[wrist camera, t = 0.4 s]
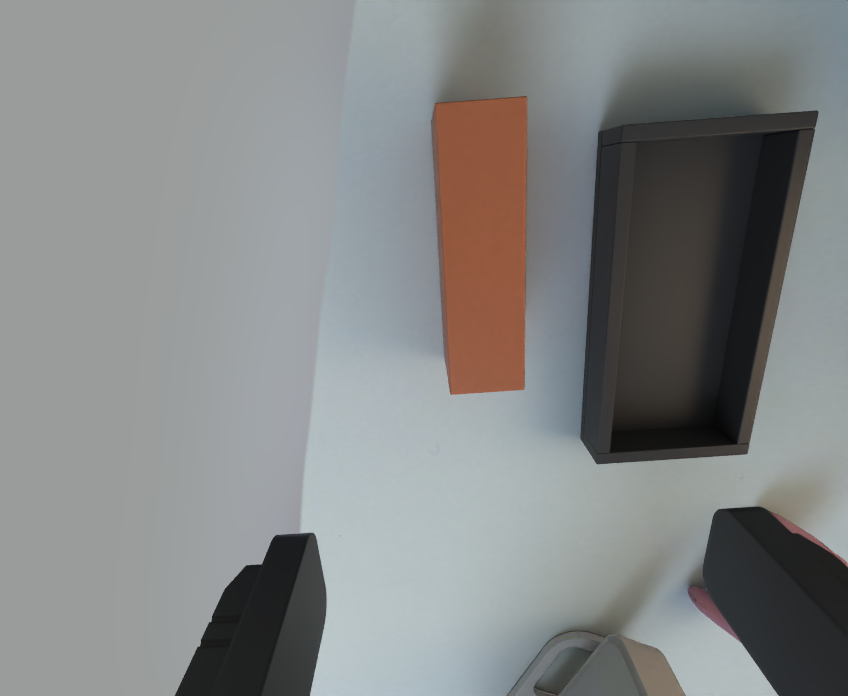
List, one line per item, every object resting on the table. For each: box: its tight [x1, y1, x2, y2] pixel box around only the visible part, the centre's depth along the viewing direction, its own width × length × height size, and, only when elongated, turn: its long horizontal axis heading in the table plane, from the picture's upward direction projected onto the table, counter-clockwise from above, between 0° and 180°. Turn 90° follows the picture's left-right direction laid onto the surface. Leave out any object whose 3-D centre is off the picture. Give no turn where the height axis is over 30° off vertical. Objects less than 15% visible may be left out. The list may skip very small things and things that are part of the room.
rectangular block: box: [431, 96, 527, 395], centre depth 24 cm, size 14×4×6 cm, turn 4°
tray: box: [581, 111, 818, 464], centre depth 27 cm, size 20×10×3 cm, turn 4°
